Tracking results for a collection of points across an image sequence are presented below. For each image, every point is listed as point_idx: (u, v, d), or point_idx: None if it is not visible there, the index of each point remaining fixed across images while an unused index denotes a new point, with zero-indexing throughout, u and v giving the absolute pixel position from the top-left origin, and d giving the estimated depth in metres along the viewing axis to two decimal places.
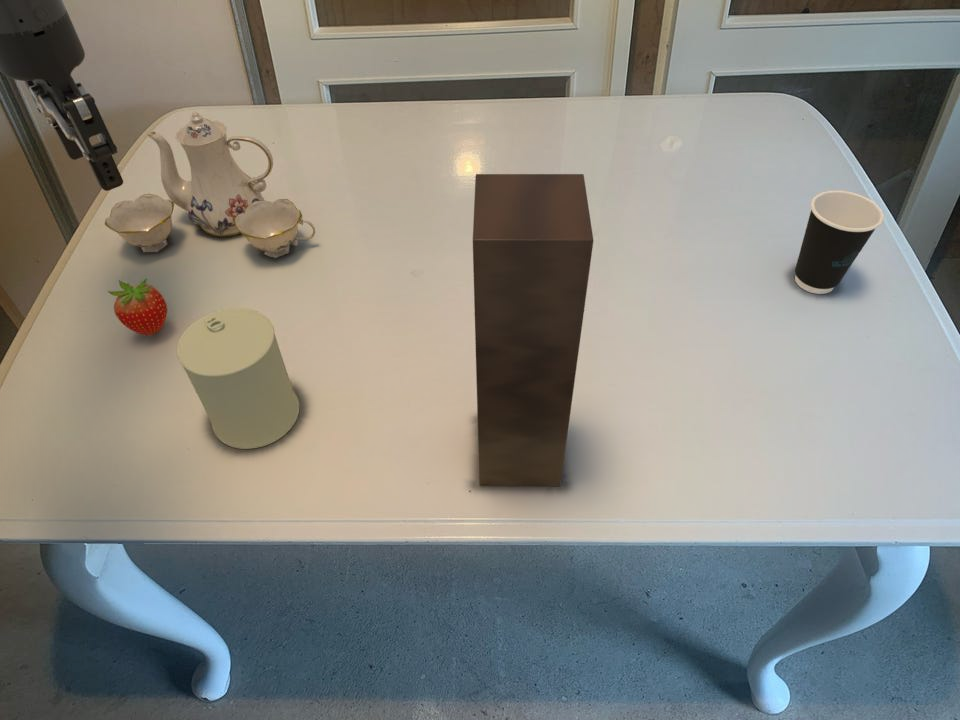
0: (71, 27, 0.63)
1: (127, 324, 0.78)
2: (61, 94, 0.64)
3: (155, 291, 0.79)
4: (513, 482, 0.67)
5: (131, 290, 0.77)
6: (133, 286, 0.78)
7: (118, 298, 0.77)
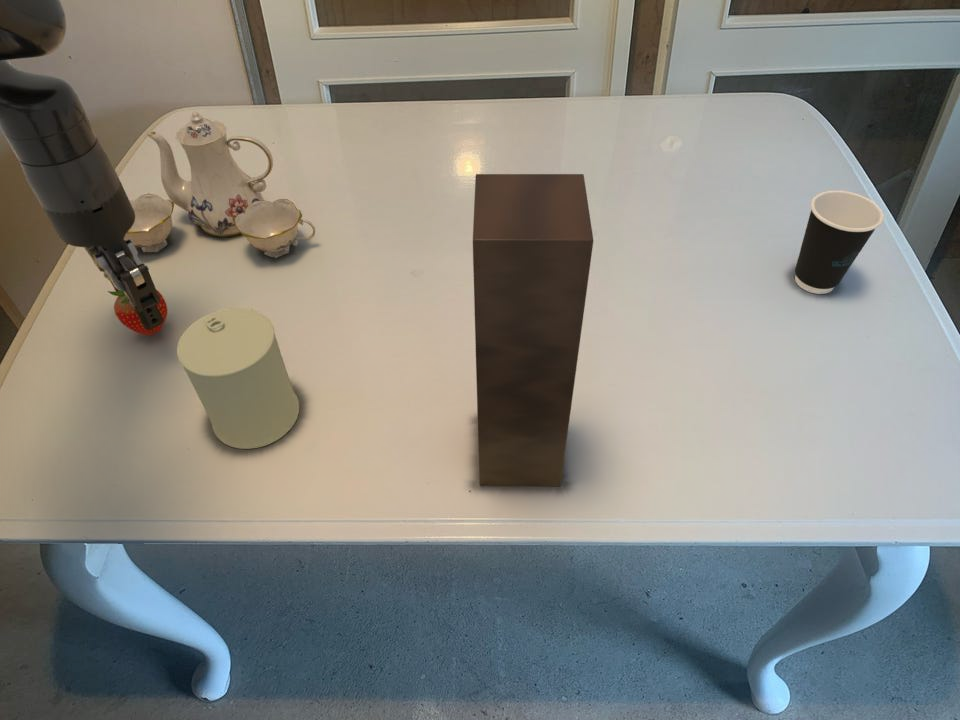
0: (124, 196, 0.69)
1: (127, 324, 0.78)
2: (116, 259, 0.70)
3: None
4: (513, 482, 0.67)
5: None
6: None
7: (118, 298, 0.77)
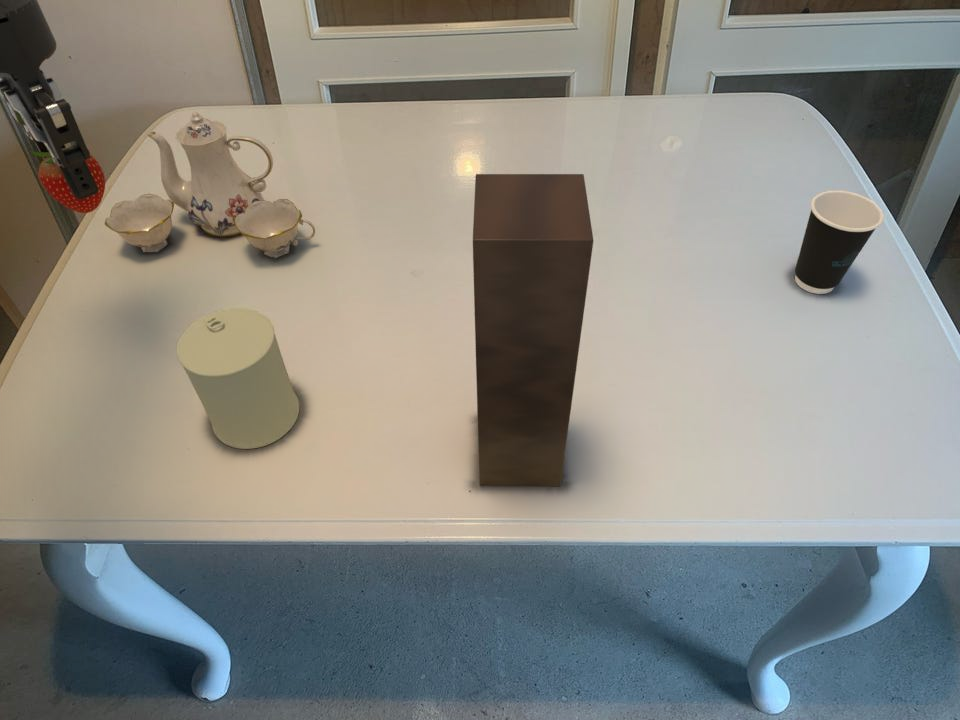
0: (40, 14, 0.56)
1: (54, 192, 0.65)
2: (31, 94, 0.57)
3: None
4: (513, 482, 0.67)
5: None
6: (62, 149, 0.66)
7: (43, 161, 0.64)
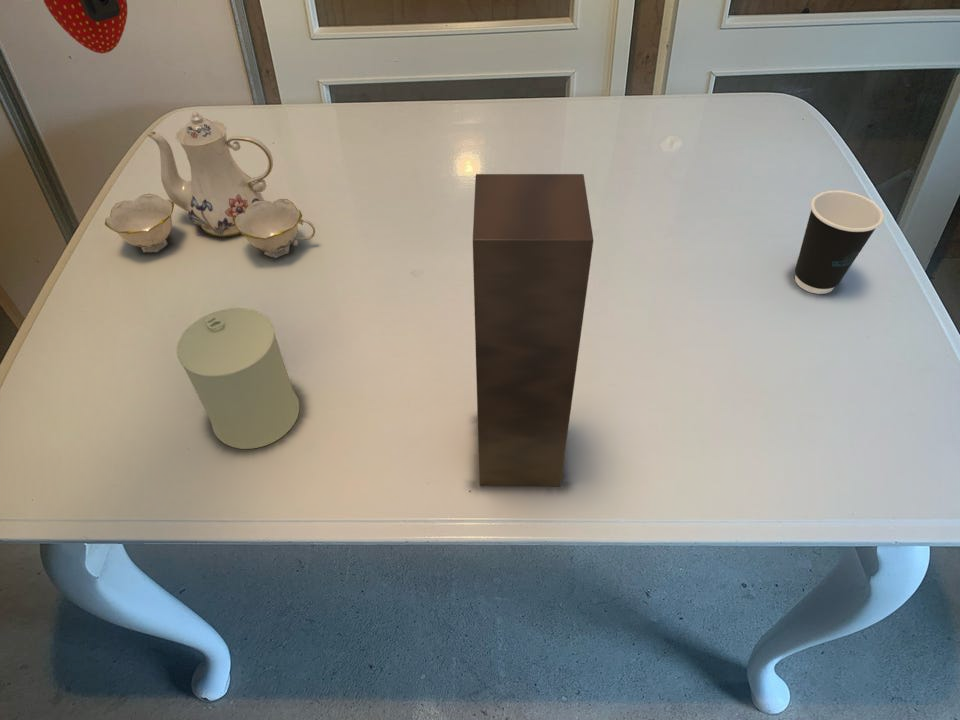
0: None
1: (61, 12, 0.49)
2: None
3: None
4: (513, 482, 0.67)
5: None
6: None
7: None
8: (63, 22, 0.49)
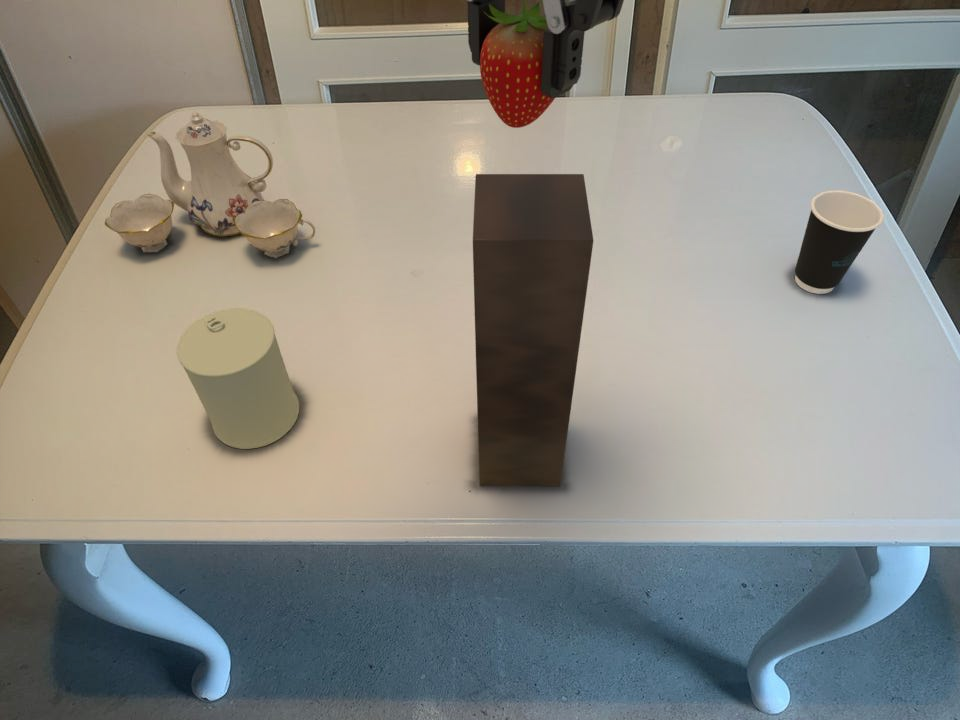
0: None
1: (509, 86, 0.40)
2: None
3: None
4: (513, 482, 0.67)
5: (525, 14, 0.39)
6: (516, 16, 0.40)
7: (497, 32, 0.39)
8: (504, 96, 0.40)
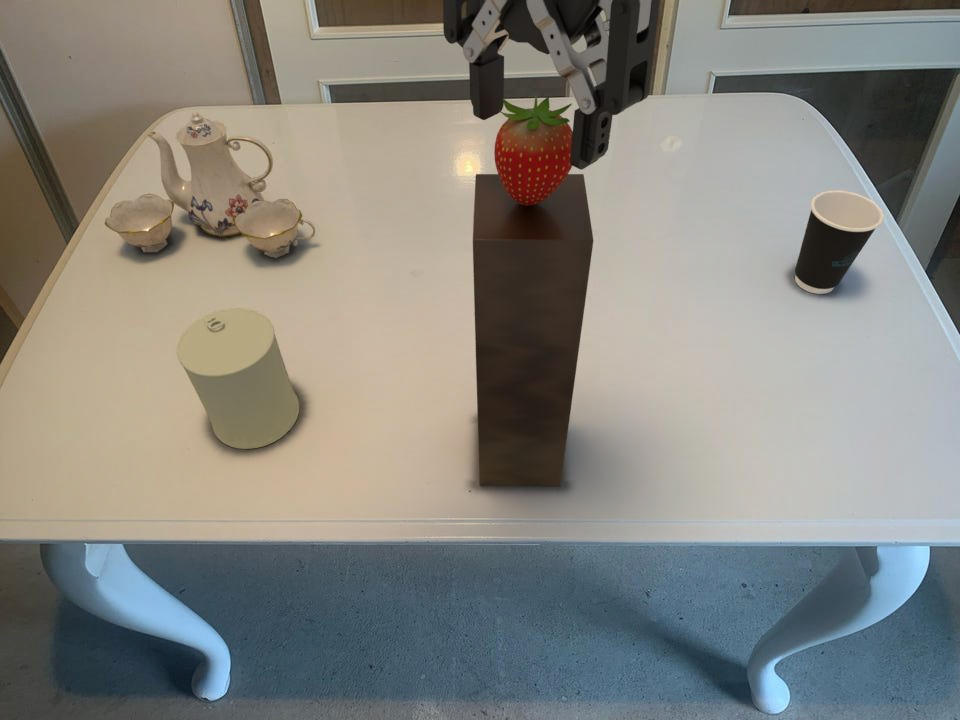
0: None
1: (521, 175, 0.43)
2: None
3: None
4: (513, 482, 0.67)
5: (536, 111, 0.43)
6: (528, 109, 0.44)
7: (510, 126, 0.43)
8: (516, 183, 0.44)
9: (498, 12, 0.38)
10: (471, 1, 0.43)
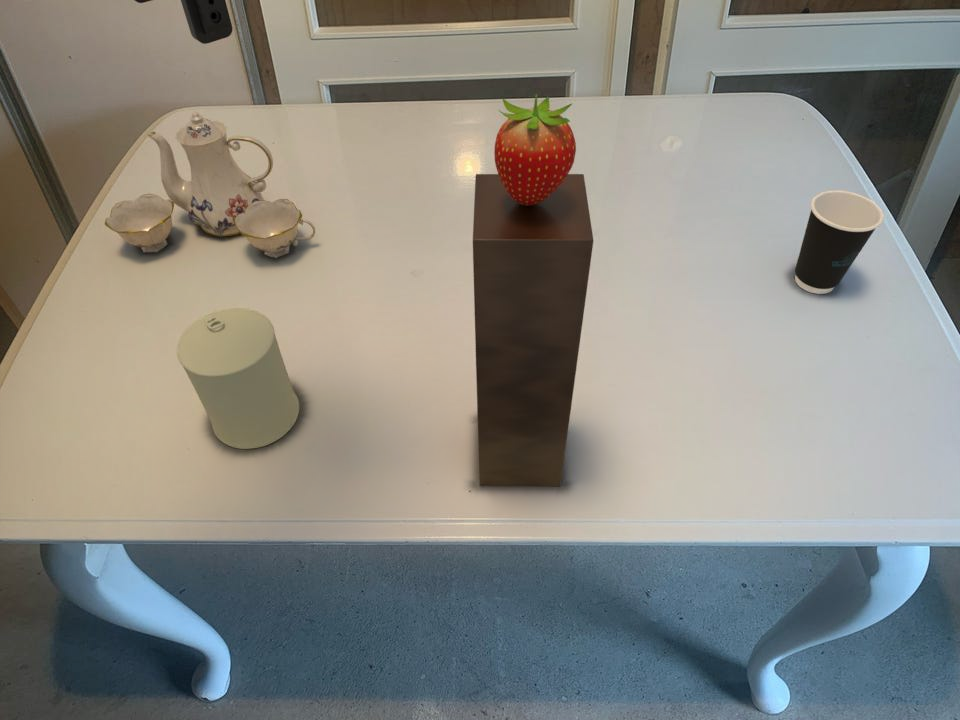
0: None
1: (521, 175, 0.43)
2: None
3: None
4: (513, 482, 0.67)
5: (536, 111, 0.43)
6: (528, 109, 0.44)
7: (511, 126, 0.43)
8: (516, 183, 0.44)
9: None
10: None
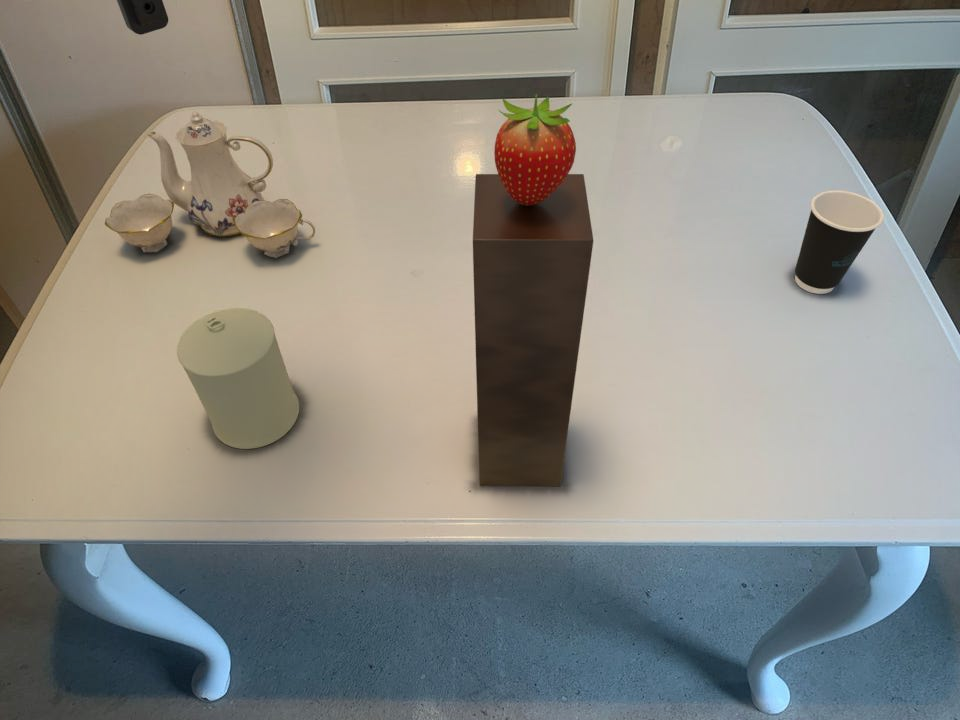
0: None
1: (521, 175, 0.43)
2: None
3: None
4: (513, 482, 0.67)
5: (536, 111, 0.43)
6: (528, 109, 0.44)
7: (511, 126, 0.43)
8: (516, 183, 0.44)
9: None
10: None
